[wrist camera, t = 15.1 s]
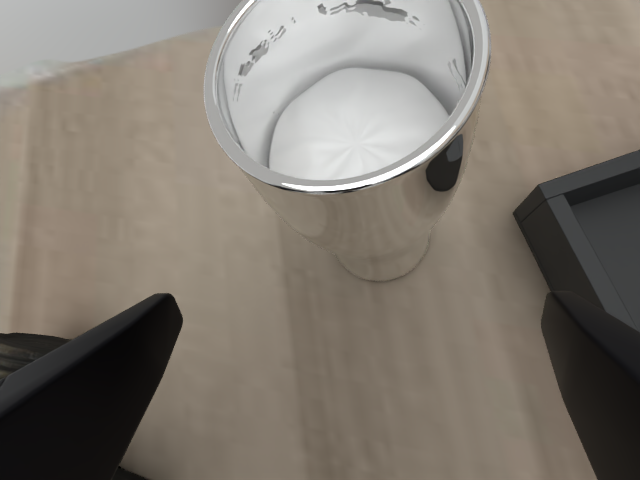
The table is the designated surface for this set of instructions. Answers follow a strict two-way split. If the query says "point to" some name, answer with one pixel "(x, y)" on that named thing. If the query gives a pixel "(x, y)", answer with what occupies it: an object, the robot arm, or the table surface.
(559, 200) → the bin
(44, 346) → the film camera
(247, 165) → the metal tumbler
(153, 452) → the table surface
